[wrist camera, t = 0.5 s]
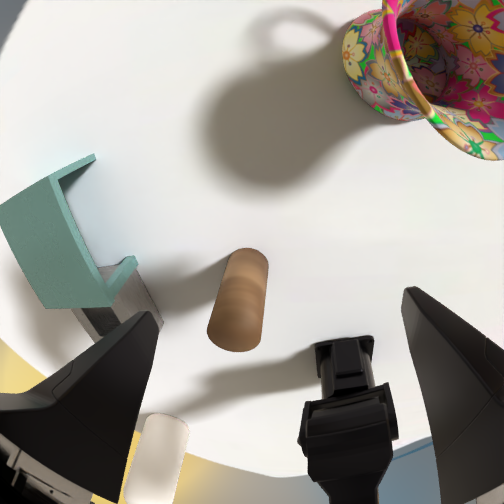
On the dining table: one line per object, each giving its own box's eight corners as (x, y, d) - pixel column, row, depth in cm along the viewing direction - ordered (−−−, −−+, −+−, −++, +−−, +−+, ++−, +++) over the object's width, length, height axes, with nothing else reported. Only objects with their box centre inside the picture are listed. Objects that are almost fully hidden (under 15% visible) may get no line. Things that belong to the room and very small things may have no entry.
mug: (457, 120, 15) (553, 157, 6) (351, 132, 18) (415, 173, 9) (418, -19, 10) (493, -61, 1) (304, -17, 12) (318, -98, 3)
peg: (271, 279, 25) (265, 350, 18) (233, 283, 26) (216, 353, 19) (263, 245, 23) (254, 313, 16) (223, 251, 24) (199, 317, 17)
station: (167, 322, 29) (149, 364, 24) (102, 323, 31) (81, 357, 26) (93, 153, 20) (47, 175, 15) (32, 185, 22) (-7, 209, 17)
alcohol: (160, 428, 49) (127, 544, 24) (140, 409, 45) (97, 539, 19) (197, 433, 47) (168, 560, 22) (180, 414, 43) (142, 559, 17)
